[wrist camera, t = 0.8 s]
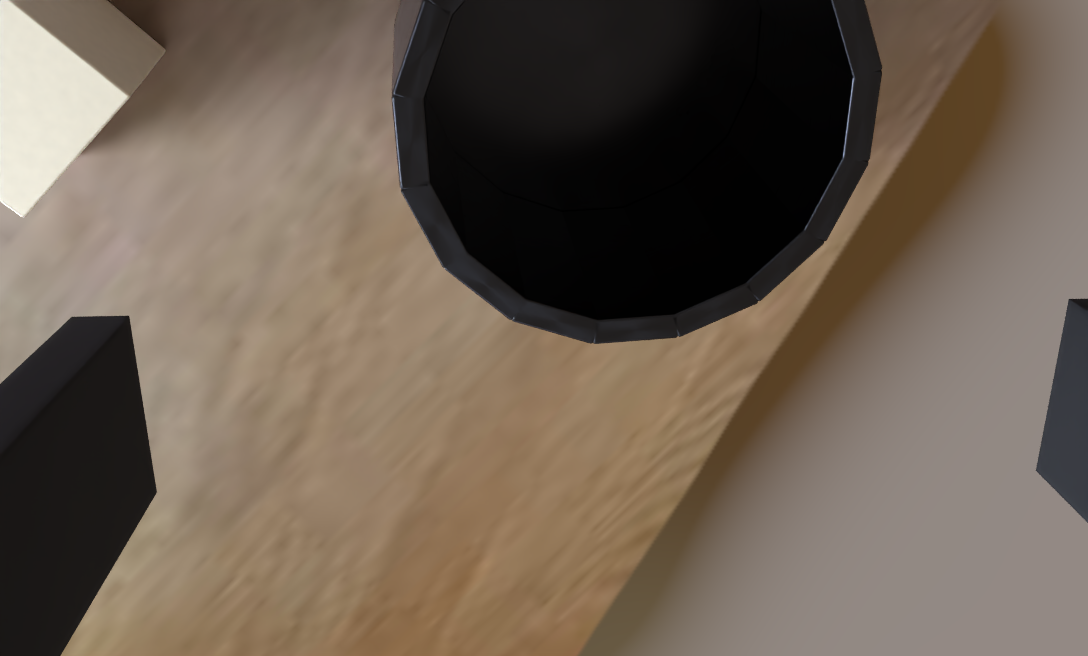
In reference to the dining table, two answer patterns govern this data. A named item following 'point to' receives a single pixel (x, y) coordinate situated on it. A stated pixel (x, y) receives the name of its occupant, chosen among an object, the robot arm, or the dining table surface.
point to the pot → (630, 150)
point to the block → (61, 86)
